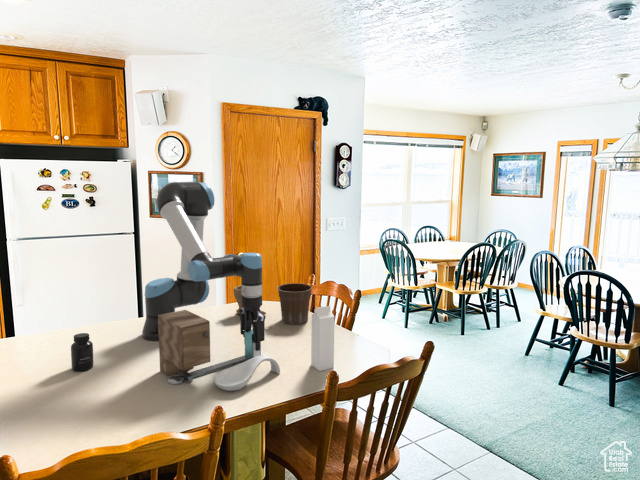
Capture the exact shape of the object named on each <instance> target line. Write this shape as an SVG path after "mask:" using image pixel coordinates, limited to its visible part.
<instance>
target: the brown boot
mask: <svg viewBox="0 0 640 480" xmlns="http://www.w3.org/2000/svg"><path fill="white" fill-rule="evenodd" d="M233 295H234V298H235V300H236V302H237V305H238V308H237V309H236V310H235V311H236V313H237V314H239V315H240V312H239V309H242V308H244V307H243V306H242V296H243V295H242V284H241V285H237V286H235V287H234V288H233ZM260 312H261V314H262V315H265V316H266V311H263V310H261V309H260Z"/></svg>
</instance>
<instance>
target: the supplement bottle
mask: <svg viewBox="0 0 640 480" xmlns="http://www.w3.org/2000/svg"><path fill="white" fill-rule="evenodd" d="M70 353H71V354H70V356H71V357H70V359H71V370H72V371H73V372H76V373H77V372H78V373H79V372H82V373H83V372H87V371H89V370H92V369H93V367H94V366H95V365H94V344H93V342H92V341H91V340H90V334H89V333H88V332H80V333H77V334H74V335H73V343H71V345H70Z"/></svg>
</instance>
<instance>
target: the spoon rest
mask: <svg viewBox="0 0 640 480" xmlns="http://www.w3.org/2000/svg"><path fill="white" fill-rule="evenodd" d="M266 361H267V362H269V363H270V370H271V371H272V372H273V373H275V374H280V373H281V368H280V365H279V363H278V361H277V360H276V359H274V358H272V357H270V356H268V355H265V354H264V355H262V354H261V356H256V357H254V358H252V359H249V360H247V361H245V362H243V363H240V364H237V365H233V366H230V367H227V368H224V369H221V370H219V372H217V373H216V374H215V375H214V376H213V379H212V380H213V383H214V385H215V386H216V387H218V388H219V389H221V390H223V391H228V392H232V391H233V392H234V391H239V390H241V389H243V387H245V386H247V384H248V383H249V381H250V380H251V378H252V376H253V375H254V373H255V371H256V370H257V368H258V367H259V366H260V365H261V363H263V362H266Z"/></svg>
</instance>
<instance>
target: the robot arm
mask: <svg viewBox="0 0 640 480" xmlns="http://www.w3.org/2000/svg"><path fill="white" fill-rule="evenodd" d="M214 206H215V195H214V191H213V189H212V187H211V186H210V185H209V184H207V183H206V182H202V181H201V182H200V181H199V182H198V181H180V182H177V181H174V182H169V183H167V184H165V185H164V186H163V187H161V189H160V190H159V191H158V194H157V197H156V208H157V211H158V213H159V214H160V216H161V218H163V219H164V220H166V222H167V224H168V225H169V227H170V229H171V231H172V233H173V235H174V236H175V238H176V240H177V241H178V244H179V245H180V247H181V258H180V271H179V272H178V273H177V274H176V280H174V278H171V277H163V278H157V279H154V280H151V281H148V282H147V284H146V285H145V287H144V288H145V289H144V300H145V321H144V324H143V328H142V332H141V333H142V336H141V337H142V338H143V340H147V341H155V342H156V341H159V329H158V315H161V314H166V313H171V312H176V309H177V308H182V307H189V306H192V305H194V306H195V305H199V304H202V303H204V302H205V301H206V300H207V298H209V294H210V284H209V280H216V279H222V278H228V277H229V278H230V277H233V276H234V277H238V278H241V279H240V280H241V282H240V283H241V285H242V295H243V296H242V306H243V307H244V308H242V309H239V308H238V309H239V312H240V314H239V317H240V318H239V319H240V320H239V323H240V324H239V325H240V328H239V329H240V331H239V332H240V335H242V337H243V338H244V345H245V331H248V330H252V329H253V335H254V341H253V358H254V357H256V356H260V349H261V348H262V346H261V345H262V342H264V341H265V338H266V337H265V335H266V334H265V332H266V331H265V320H266V314H265V315H262V314H261V312H260V310H261V307H262V306H263V296H262V295H263V259H262V258H263V256H262V254H261V253H258V252H244V253H242V254H241V256H240V255H238V254H235V253H233V254H232V253H229V254H225V255H224V256H220V257H212V256H211V254H210V252H209V250H208V249H207V247H206V246H205V244H204V241H203V240H204V228H205V227H204V224H205V223H204V222H205V218H207V217H208V215H209V211H210V210H212V209H213V208H214ZM261 350H262V349H261Z"/></svg>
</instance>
